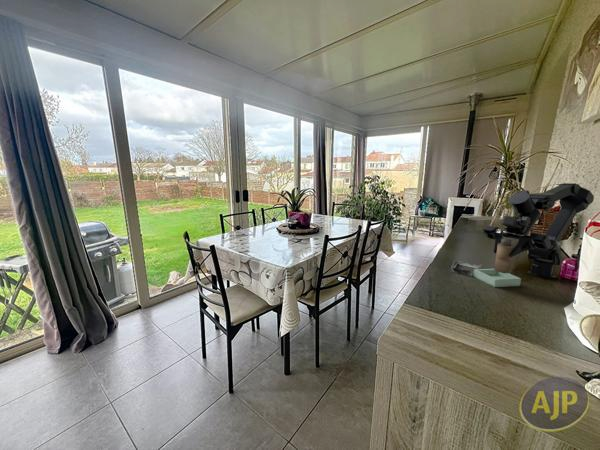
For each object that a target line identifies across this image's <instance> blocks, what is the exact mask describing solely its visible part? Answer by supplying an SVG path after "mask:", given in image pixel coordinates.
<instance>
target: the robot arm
mask: <svg viewBox="0 0 600 450" xmlns="http://www.w3.org/2000/svg"><path fill="white" fill-rule="evenodd" d="M594 199H595V197H594V195H593V193H592V191H591V190H589V189H587V188H584V187H582V186H581V185H580V184H579V183H576V182H575V183H569V182H568V183H566V182H565V183H560V184H558V186H555V187H552V188H551V189H548V190H546V191H544V192H538V193H537V192H534V193H530V191H529V190H527V189H525V190H524V189H521V190H520V191H519V192H516V193H513V194H512V195H510V196H509V198H508V202H509V204H510V205H511V208H512V209H513V211H514V212H515V213H517V215H516V216H513V215H512V216H509V215H504V216H503V217H502V219H501V222H500V225H502V226H503V228H504V230H505V231H504V230H502V229H500V228H499V227H498V226H496V225H495V226H494V225H485V227H483V229H482V231H483V232H484V234H485V236H486V238H488V239H490V240H493V241H494V247H493V253H494V254H496V253H497V245H498V244H499V243H501V239H505V238H506V239H511V240H512V239H514V240H517V241H518V242H517V243H516V244H515V245H514V249H513V250H512V251H511V253H510V255H509V256H510V257H513V258H514V257H515V256H517V255H519V254H522V253H523V252H526V251H527V258H528V259H529V260H532V264H531V267H530V271H527V274H529V275H532V276H535V277H538V278H540V279H557V278H558V276H556V275H554V272H555V271H554V270H555V267H556V266H561V264H562V263H563V260H564V259H563V257H562V254H561V247H560V244H559V243H560V241H561V240H562V237H563V236H564V235H565V233H566V232H567V230H568V228H569V227H570V225H571V224H572V222H573V220H574V218H575V217H576V215H577V214H579V213H581V212H583V211H585V210H587V208H588V207H589V206H590V205H591V204H592V203H593V202H594ZM558 201H559V202H558ZM556 202H558V203H559V205H560V209H559V210H558V212H557V213H556V215H555V217H554V219H553V220H552V222H551V224H550V225H549V227H548V229H547V230H546V231H545V233H540V232H533V231H534V228H533V227H534V226H535V224H536V223H537V221H542V213H541V212H540V211H550V210H551V209H552V208H553V207H555V203H556ZM530 232H531V233H530ZM529 233H530V235H529Z"/></svg>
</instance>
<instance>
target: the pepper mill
mask: <svg viewBox="0 0 600 450" xmlns="http://www.w3.org/2000/svg"><path fill="white" fill-rule="evenodd" d="M512 241H513V240H512V239H511V238H504V239H501V243H499V244H498V245H497V253H495V263H494V268H493V269H494V270H495V271H497V272H500V273H509V274H511V271H512V262H513V258H514V256H513V257H510V256H509V255H510V253H511V251H512V250H513V249H514V247H515V245H513V244H512Z"/></svg>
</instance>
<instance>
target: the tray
mask: <svg viewBox="0 0 600 450" xmlns="http://www.w3.org/2000/svg"><path fill="white" fill-rule="evenodd" d="M473 272H474V273H473V275H472V277H474V278H476V279H477V280H479V281H481V282H484V283H485V284H487V285H489V286H491V287H493V288H503V287H504V288H505V287H521V282H522V281H521V280H522V278H520V277H518V276H517V275H514V274H511V273H500V272H497V271H495V270H494V268H480V269H477V268H473Z"/></svg>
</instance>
